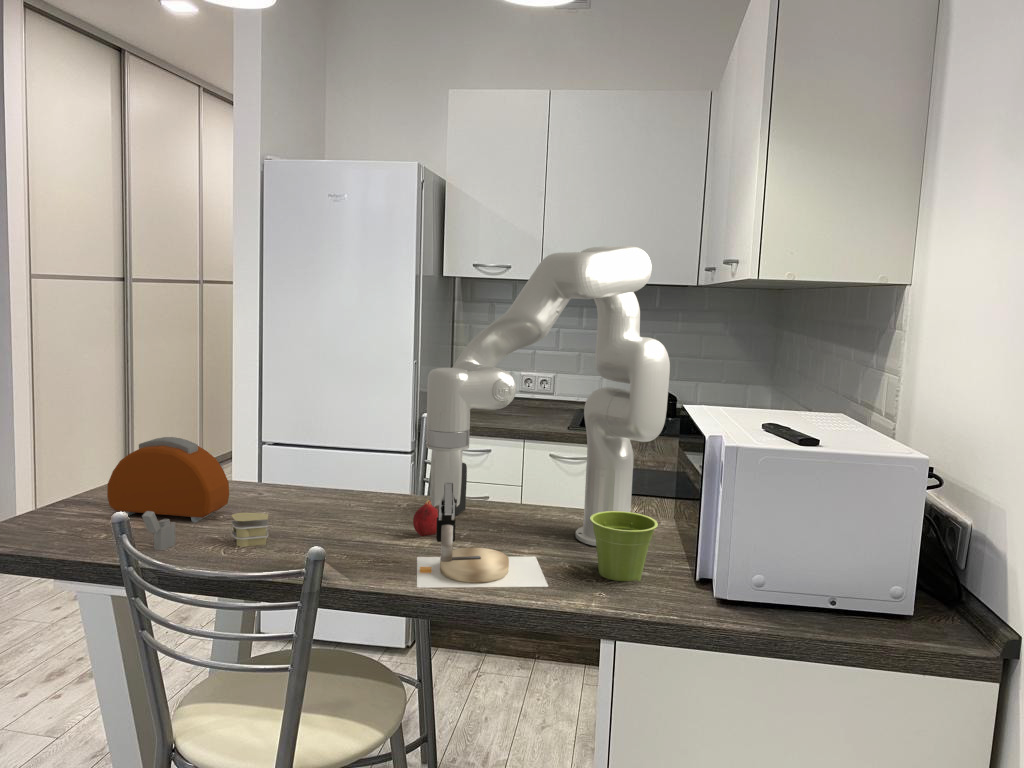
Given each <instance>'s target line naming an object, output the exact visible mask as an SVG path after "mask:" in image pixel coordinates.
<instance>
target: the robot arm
mask: <svg viewBox="0 0 1024 768" xmlns="http://www.w3.org/2000/svg"><path fill="white" fill-rule="evenodd" d="M652 269H653V266H652V261H651V259H650V256H649V255H648V253H647V252H646V251H645V250H643V249H642V248H640V247H637V246H633V245H631V246H630V245H629V246H628V245H627V246H623V245H622V246H621V245H620V246H593V247H589V248H585V249H583V250H581V251H578V252H577V251H576V252H573V251H572V252H571V251H570V252H555V253H551V254H548V255H547V256H545V257H544V258H543V259H542V260H541V261H540V262H539V264H538V265H537V267H536V268H535V270H534V272H533V273H532V274H531V276H530V277H529V278H528V280H527V281H526V283H525V284H524V286H523V288H522V289H520V290H521V291H520V292H519V294H518V295H516V298H515V299H514V301H513V303H512V304H511V305H510V307H509V308H508V309H507V310H506V312H505V313H503V314H502V315H501V316H499V317H497V318H496V319H495V320H494V321H493V322H491V323H490V324H489V325H488V326H486V327H485V328H484V329H482V330H481V331H480V332H478V333H477V334H476V335H475V336H474V337H473V338H472V339H471V340H470V341H469V343H468V344H467V345H466V346H465V347H464V349H463V351H462V352H461V353H460V355H459V356H458V358H457V360H456V361H455V363H454V364H453V366H452V367H437V368H433V369H431V370H430V372H429V373H428V375H427V387H426V388H427V389H426V390H427V391H426V392H427V393H426V394H427V395H426V397H427V398H426V432H425V433H426V435H425V437H426V439H425V440H426V442H425V443H426V445H425V446H426V449H428V450H431V455H430V456H431V457H430V485H429V497H430V499H429V500H430V501H431V505H432V506H433V507H435V508H436V506H437V510H438V517H437V529H436V534H435V535H436V536H435V538H436V542H438V543H441V528H442V525H452V526H453V542H455V540H456V517H455V505H456V507H457V506H458V505H459V504H460V495H461V480H462V462H463V451H467V450H468V449H469V448H470V434H471V433H470V431H471V430H470V428H471V427H470V425H471V410H472V409H477V410H488V411H489V410H490V411H493V410H494V411H496V410H501V409H504V408H505V407H507V406H509V404H511V403H512V402H513V400H514V399H515V398H516V397H515V396H516V393H517V383H516V381H515V379H514V377H513V376H512V375H511V374H510V373H509V372H508V371H506V370H504V369H502V368H499V367H496V366H497V365H498V364H499V362H500V361H502V360H503V359H505V357H507V356H508V355H511V354H512V353H514V352H516V351H518V350H520V349H523V348H526V347H529V346H531V345H534V344H536V343H538V342H540V341H542V340H543V339H545V338H546V337H547V336H548V334H549V332H550V331H551V329H552V328H553V326H554V324H555V323H556V322H557V320H558V318H559V317H560V316H561V314H562V312H563V311H564V309H565V307H567V305H568V303H569V302H570V300H572V299H576V300H577V299H580V300H594V303H595V306H596V310H597V312H596V313H597V325H596V326H597V327H596V342H595V357H594V362H595V363H594V364H595V366H594V367H595V370H596V372H597V374H598V375H599V376H600V377H601V378H603V379H605V380H608V381H612V382H617V383H622V384H628V385H629V389H625V388H624V389H623V388H620V387H611V386H610V387H609V386H607V387H606V386H605V387H600V388H596V389H595V390H594V391H592V392H591V393H590V394H589V396H588V397H587V398H586V401H585V403H584V409H583V414H584V415H583V417H584V424H585V430H586V438H587V439H586V442H587V443H586V445H587V447H586V448H587V449H586V464H585V465H586V467H585V468H586V469H585V471H586V472H585V491H584V512H583V526H581V527H578V528H577V529H576V530H575V538H576V539H577V540H578V541H579V542H580V543H583V544H586V545H589V546H593V547H596V537H595V534H594V528H593V523H592V522H591V520H590V517H591V516H592V515H593V514H595V513H599V512H605V511H623V512H632V511H631V510H632V509H631V508H632V507H631V506H632V494H633V492H632V491H633V474H634V451H633V446H632V443H631V441H636V442H640V443H647V442H651V441H654V440H655V439H656V438H658V437H659V436H660V434H661V433H662V431H663V428H664V426H665V424H666V418H667V411H668V397H669V385H670V384H669V383H670V375H671V374H670V373H671V372H670V371H671V363H670V357H669V354H668V350H667V349H666V347H665V345H664V344H663V343H661V342H660V341H659V340H658V339H655V338H652V337H647V336H641V333H640V330H641V328H640V327H641V326H640V325H641V308H640V304H639V300H638V298H637V296H636V294H635V292H637V291H639V290H641V289H642V288H643V287H645V286H646V285H647V284H648V282H649V280H650V278H651V275H652V272H653V271H652Z"/></svg>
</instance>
